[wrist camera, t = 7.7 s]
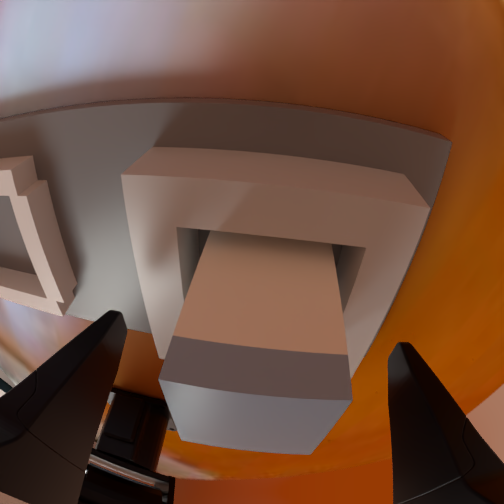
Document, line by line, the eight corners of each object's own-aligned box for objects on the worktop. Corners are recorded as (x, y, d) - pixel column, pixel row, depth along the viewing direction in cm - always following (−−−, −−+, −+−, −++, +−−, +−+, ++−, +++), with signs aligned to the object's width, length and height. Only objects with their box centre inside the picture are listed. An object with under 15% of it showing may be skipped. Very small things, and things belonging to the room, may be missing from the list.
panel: (362, 342, 17) (370, 395, 14) (-4, 283, 18) (-28, 314, 15) (440, 134, 10) (488, 169, 7) (-54, 134, 11) (-93, 158, 8)
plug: (308, 299, 14) (310, 454, 8) (218, 289, 14) (181, 440, 8) (327, 222, 11) (352, 400, 6) (218, 210, 11) (158, 378, 6)
